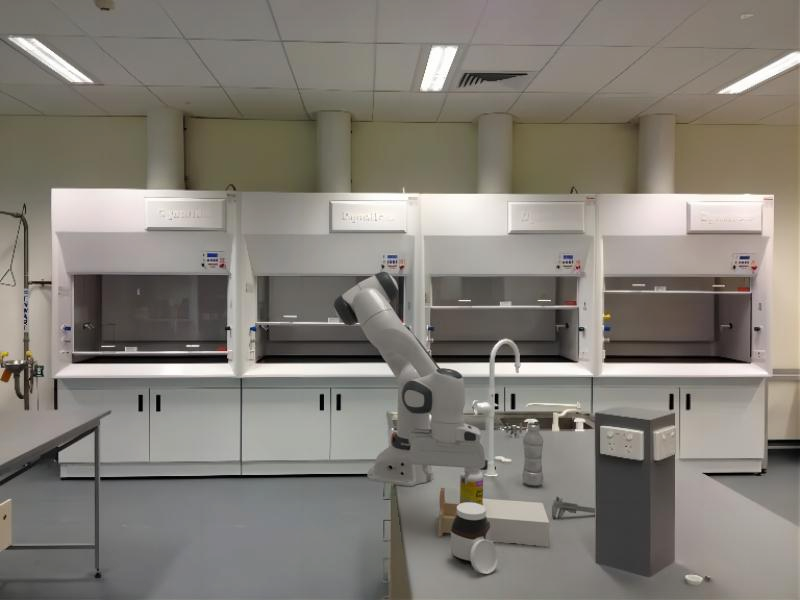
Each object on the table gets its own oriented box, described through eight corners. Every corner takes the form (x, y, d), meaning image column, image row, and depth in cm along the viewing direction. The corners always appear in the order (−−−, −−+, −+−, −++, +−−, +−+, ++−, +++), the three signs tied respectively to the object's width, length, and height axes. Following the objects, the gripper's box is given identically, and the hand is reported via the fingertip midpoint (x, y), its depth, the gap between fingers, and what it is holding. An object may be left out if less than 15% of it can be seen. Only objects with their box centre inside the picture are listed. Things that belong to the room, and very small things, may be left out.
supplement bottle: (477, 514, 140) (478, 469, 140) (456, 509, 143) (456, 464, 143) (486, 506, 146) (487, 462, 146) (465, 501, 149) (466, 458, 149)
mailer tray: (438, 536, 126) (438, 500, 126) (441, 516, 138) (441, 482, 138) (503, 542, 123) (504, 505, 123) (500, 520, 136) (501, 486, 136)
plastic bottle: (544, 489, 159) (545, 427, 159) (522, 487, 161) (523, 426, 161) (542, 482, 166) (543, 422, 166) (521, 480, 167) (522, 421, 167)
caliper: (553, 520, 138) (553, 497, 138) (551, 518, 139) (552, 496, 139) (619, 515, 141) (620, 493, 141) (617, 514, 142) (617, 492, 142)
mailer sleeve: (483, 541, 124) (483, 517, 124) (482, 520, 136) (482, 498, 136) (548, 546, 122) (549, 522, 122) (542, 525, 134) (542, 502, 134)
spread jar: (465, 544, 123) (466, 497, 123) (508, 558, 116) (509, 508, 116) (441, 565, 113) (442, 514, 113) (487, 581, 106) (487, 527, 106)
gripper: (407, 431, 130) (406, 483, 130) (486, 435, 128) (485, 489, 128) (409, 425, 136) (408, 475, 136) (484, 429, 134) (483, 480, 134)
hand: (446, 482), depth 132 cm, fingers open, 8 cm apart
